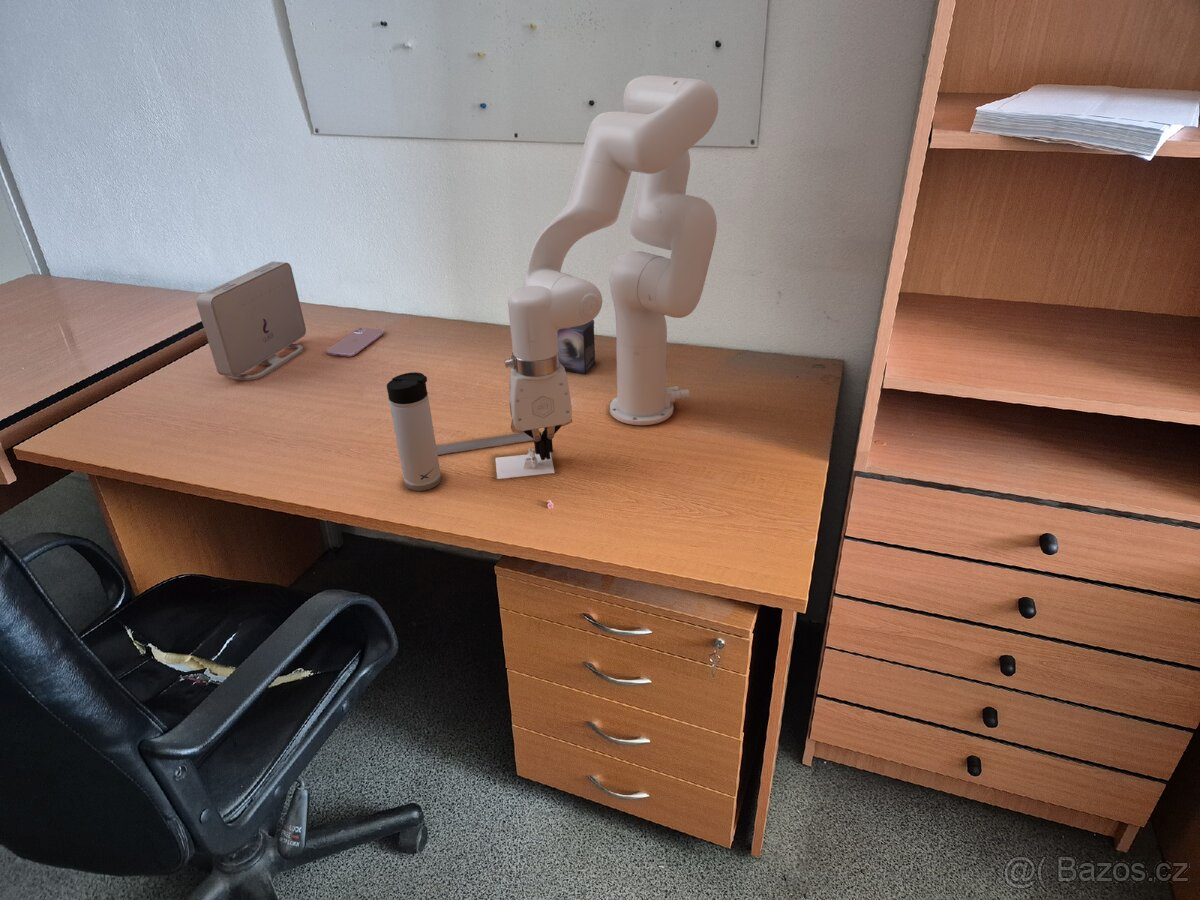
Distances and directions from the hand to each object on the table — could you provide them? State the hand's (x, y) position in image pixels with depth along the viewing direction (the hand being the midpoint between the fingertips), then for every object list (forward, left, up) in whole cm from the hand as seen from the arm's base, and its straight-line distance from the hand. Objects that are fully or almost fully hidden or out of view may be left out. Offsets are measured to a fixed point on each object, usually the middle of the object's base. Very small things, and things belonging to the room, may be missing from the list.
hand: (544, 455), depth 139 cm
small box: (-13, -38, -2) cm, 40 cm away
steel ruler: (+10, -9, -1) cm, 14 cm away
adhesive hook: (+4, 0, -2) cm, 4 cm away
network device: (+53, -62, -2) cm, 81 cm away
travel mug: (+21, 0, -2) cm, 21 cm away
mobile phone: (+33, -66, -1) cm, 74 cm away
